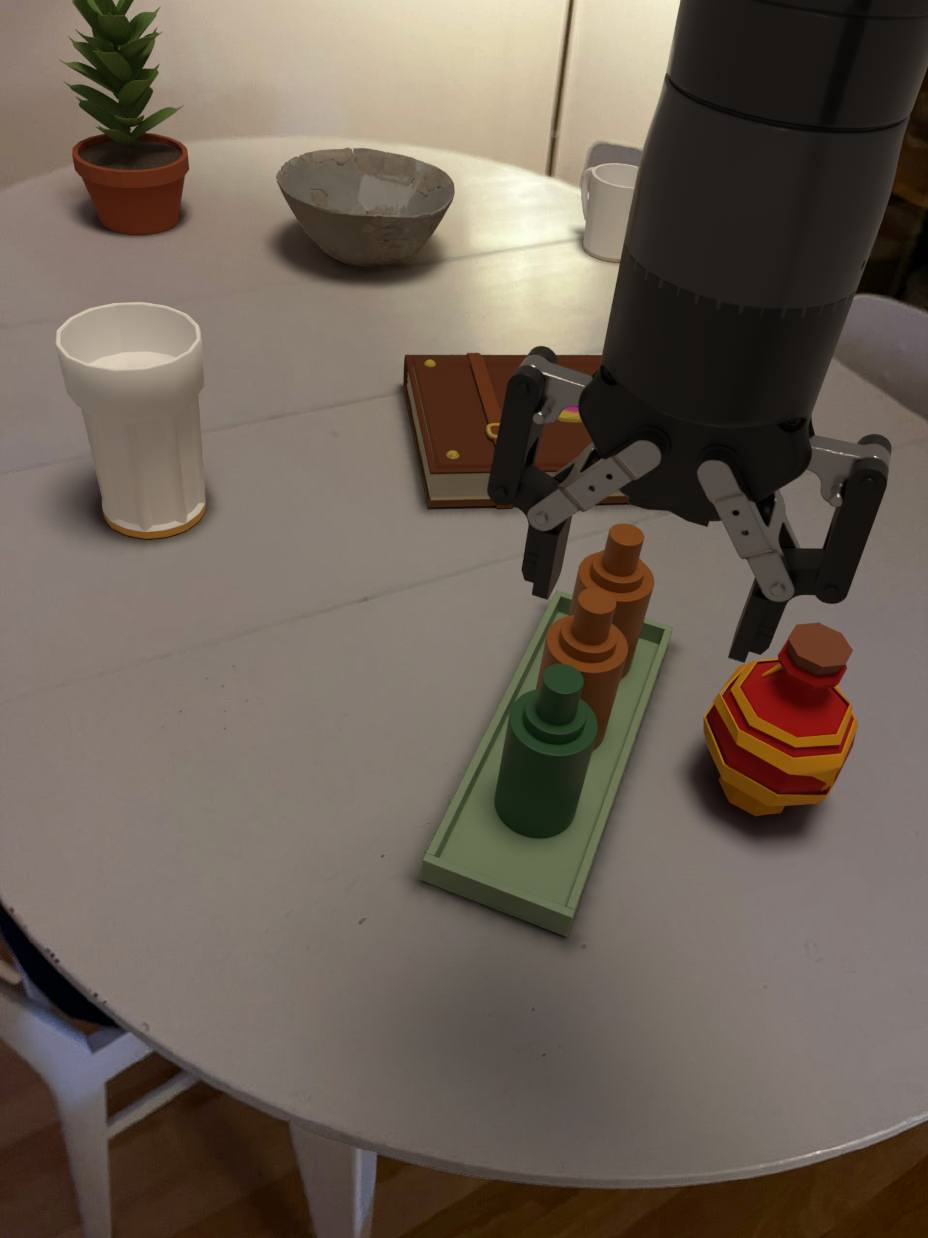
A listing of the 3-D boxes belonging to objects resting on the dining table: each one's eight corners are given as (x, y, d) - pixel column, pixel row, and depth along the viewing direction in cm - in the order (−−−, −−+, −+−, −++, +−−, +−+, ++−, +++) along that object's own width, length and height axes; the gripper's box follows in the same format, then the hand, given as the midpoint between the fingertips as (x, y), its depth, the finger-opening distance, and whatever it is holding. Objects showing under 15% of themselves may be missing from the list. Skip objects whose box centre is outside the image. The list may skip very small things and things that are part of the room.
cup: (104, 558, 88) (67, 380, 76) (79, 484, 95) (43, 310, 83) (233, 532, 92) (218, 358, 80) (200, 462, 99) (182, 293, 87)
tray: (566, 937, 65) (572, 918, 64) (420, 880, 67) (422, 859, 66) (667, 647, 86) (673, 626, 84) (552, 610, 88) (556, 589, 86)
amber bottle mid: (619, 744, 77) (656, 618, 68) (551, 765, 75) (580, 638, 66) (582, 690, 80) (613, 564, 72) (516, 708, 78) (539, 582, 70)
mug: (654, 252, 144) (670, 178, 137) (618, 269, 139) (633, 193, 132) (592, 226, 149) (604, 153, 142) (555, 242, 144) (566, 167, 137)
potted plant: (214, 207, 143) (193, -44, 122) (166, 249, 132) (134, -18, 111) (115, 188, 144) (78, -62, 124) (59, 229, 134) (9, -38, 113)
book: (740, 502, 102) (754, 461, 98) (428, 510, 97) (431, 467, 93) (673, 383, 118) (683, 344, 114) (402, 384, 113) (404, 343, 109)
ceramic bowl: (403, 311, 125) (407, 231, 118) (245, 262, 131) (240, 183, 124) (478, 249, 140) (486, 174, 133) (333, 207, 146) (333, 134, 139)
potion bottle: (819, 748, 79) (891, 606, 69) (828, 859, 71) (911, 719, 61) (684, 721, 80) (736, 577, 69) (680, 828, 72) (737, 684, 62)
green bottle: (590, 824, 71) (626, 699, 62) (516, 849, 69) (542, 723, 60) (552, 762, 75) (581, 636, 66) (480, 784, 73) (501, 657, 64)
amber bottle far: (644, 674, 82) (681, 550, 73) (581, 692, 80) (612, 566, 71) (608, 627, 86) (640, 503, 77) (548, 642, 84) (573, 517, 75)
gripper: (494, 235, 31) (453, 620, 42) (974, 351, 28) (796, 733, 39) (565, 162, 37) (512, 521, 48) (976, 253, 34) (818, 614, 45)
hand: (641, 617), depth 43 cm, fingers open, 8 cm apart
